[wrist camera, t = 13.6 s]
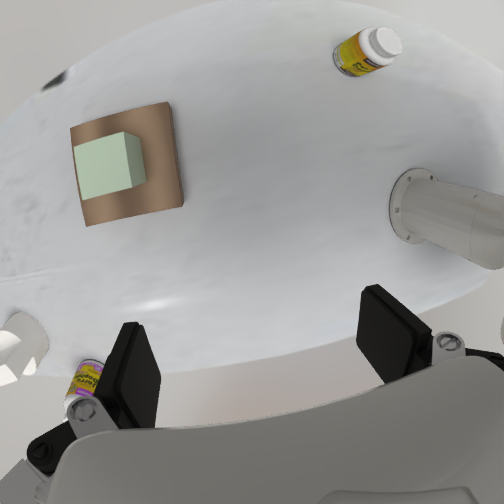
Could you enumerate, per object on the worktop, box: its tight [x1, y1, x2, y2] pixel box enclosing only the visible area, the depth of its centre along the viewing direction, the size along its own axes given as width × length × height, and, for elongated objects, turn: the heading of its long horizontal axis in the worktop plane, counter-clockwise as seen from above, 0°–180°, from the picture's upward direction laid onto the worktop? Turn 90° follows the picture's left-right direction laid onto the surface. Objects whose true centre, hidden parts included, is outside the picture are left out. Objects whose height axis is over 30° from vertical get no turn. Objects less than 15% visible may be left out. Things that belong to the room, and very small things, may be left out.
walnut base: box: [70, 102, 184, 227], centre depth 29 cm, size 12×12×4 cm
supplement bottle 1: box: [63, 360, 104, 422], centre depth 33 cm, size 7×7×13 cm
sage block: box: [74, 132, 147, 200], centre depth 24 cm, size 5×5×7 cm
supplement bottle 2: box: [334, 27, 403, 77], centre depth 26 cm, size 6×6×10 cm
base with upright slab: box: [0, 312, 49, 386], centre depth 29 cm, size 9×9×12 cm
